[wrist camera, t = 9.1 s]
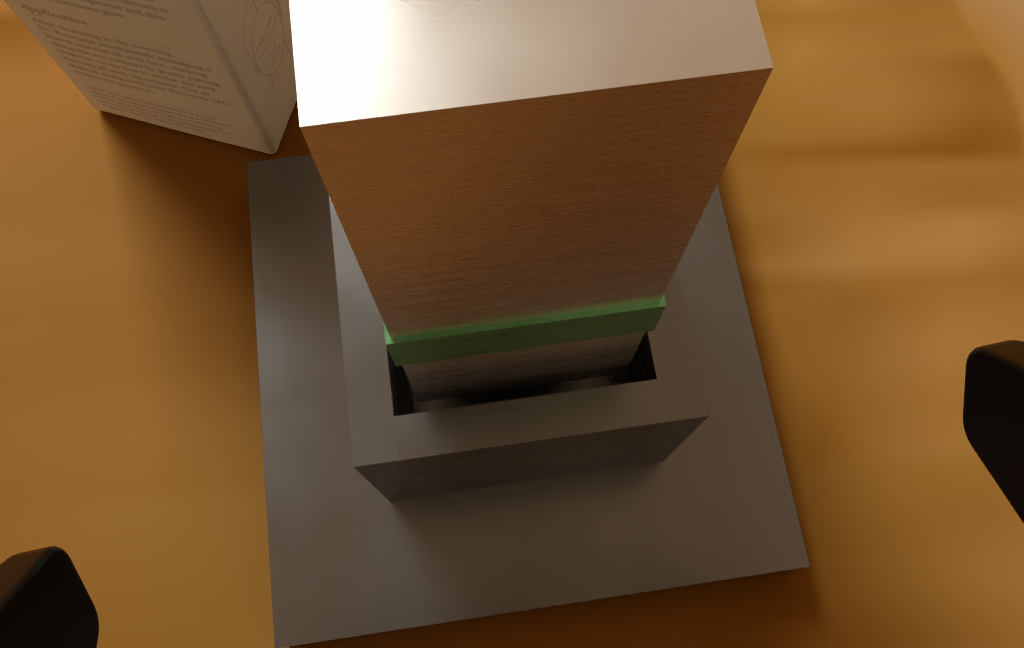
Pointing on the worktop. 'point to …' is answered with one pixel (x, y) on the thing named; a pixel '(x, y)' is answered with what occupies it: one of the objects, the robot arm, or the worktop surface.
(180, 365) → the worktop surface
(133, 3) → the small box
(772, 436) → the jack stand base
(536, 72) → the white tall block
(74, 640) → the robot arm
